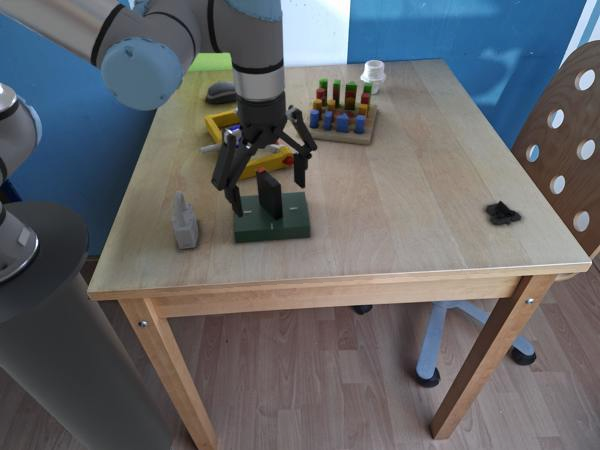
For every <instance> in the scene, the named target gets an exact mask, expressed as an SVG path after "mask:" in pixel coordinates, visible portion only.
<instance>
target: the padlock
mask: <svg viewBox="0 0 600 450" xmlns="http://www.w3.org/2000/svg"><path fill="white" fill-rule="evenodd" d="M173 206H174V207H173V208H174V211H173V214H172V217H171V220H172V227H173V233H174V236H175V240H176V243H177V245H178V248H179V250H185V249H193V248H196V246H197V242H198V238H199V234H200V232H199V228H198V222H197V219H196V215H195V210H194V206H193V204H192V203H186V201H185V197H184V194H183V192H182V191H181V190H177V191H175V193H174V197H173Z"/></svg>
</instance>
